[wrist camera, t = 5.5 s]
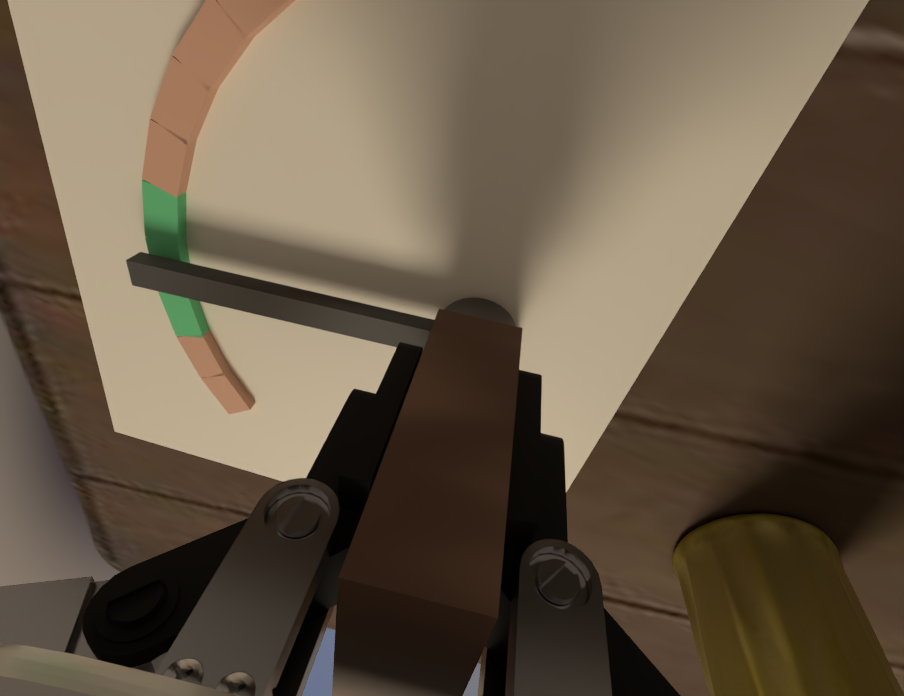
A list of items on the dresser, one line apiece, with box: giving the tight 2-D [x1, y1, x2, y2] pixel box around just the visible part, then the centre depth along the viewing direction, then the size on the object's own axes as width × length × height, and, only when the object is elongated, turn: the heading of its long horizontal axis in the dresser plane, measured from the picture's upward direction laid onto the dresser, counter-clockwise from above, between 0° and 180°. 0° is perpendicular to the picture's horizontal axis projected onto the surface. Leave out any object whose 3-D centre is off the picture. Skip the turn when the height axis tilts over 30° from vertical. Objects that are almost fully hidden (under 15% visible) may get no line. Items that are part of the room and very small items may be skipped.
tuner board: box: [8, 0, 869, 492], centre depth 15 cm, size 18×20×2 cm
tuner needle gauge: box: [126, 252, 522, 696], centre depth 11 cm, size 11×5×9 cm, turn 81°
